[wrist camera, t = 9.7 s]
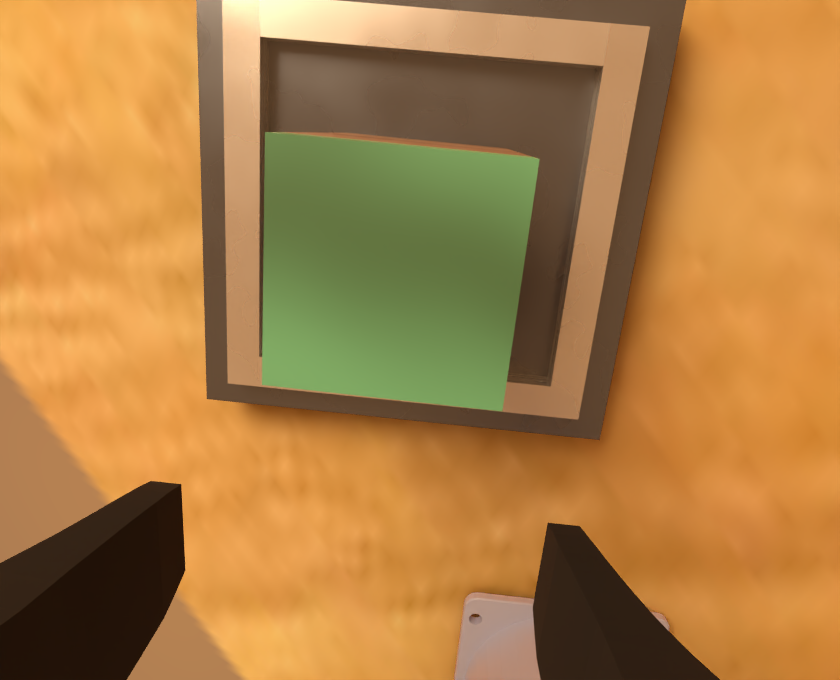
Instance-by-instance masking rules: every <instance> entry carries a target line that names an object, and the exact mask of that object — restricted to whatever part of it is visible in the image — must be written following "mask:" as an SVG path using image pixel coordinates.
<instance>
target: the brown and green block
mask: <svg viewBox="0 0 840 680" xmlns="http://www.w3.org/2000/svg"><path fill="white" fill-rule="evenodd" d="M539 160H540V159H538V158H535V157H532V156H529V155H526V154H522V153H519V152H516V151H513V150H510V149H507V148H499V147H489V146H479V145H469V144H459V143H448V142H438V141H428V140H418V139H408V138H397V137H387V136H377V135H367V134H357V133H326V132H265V176H264V257H263V337H262V385H267V386H276V387H285V388H294V389H303V390H312V391H321V392H330V393H339V394H348V395H358V396H367V397H376V398H385V399H394V400H403V401H412V402H421V403H430V404H439V405H448V406H457V407H466V408H475V409H484V410H494V411H502V410H503V404H504V397H505V390H506V383H507V376H508V370H509V363H510V356H511V349H512V343H513V336H514V329H515V322H516V316H517V309H518V302H519V295H520V288H521V282H522V275H523V268H524V261H525V255H526V248H527V241H528V234H529V228H530V221H531V214H532V207H533V201H534V194H535V187H536V180H537V173H538V167H539Z"/></svg>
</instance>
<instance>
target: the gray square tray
mask: <svg viewBox="0 0 840 680" xmlns="http://www.w3.org/2000/svg"><path fill="white" fill-rule="evenodd" d="M196 1H197V39H198V77H199V115H200V154H201V192H202V230H203V268H204V306H205V344H206V382H207V399H213V400H222V401H232V402H241V403H251V404H261V405H270V406H280V407H289V408H299V409H309V410H318V411H328V412H337V413H347V414H356V415H366V416H376V417H385V418H395V419H404V420H414V421H424V422H433V423H443V424H452V425H462V426H471V427H481V428H491V429H500V430H510V431H519V432H529V433H539V434H548V435H558V436H567V437H577V438H587V439H596V440H600V435H601V430H602V425H603V420H604V415H605V410H606V405H607V400H608V395H609V389H610V384H611V379H612V374H613V369H614V364H615V359H616V354H617V349H618V344H619V339H620V334H621V329H622V324H623V318H624V313H625V308H626V303H627V298H628V293H629V288H630V283H631V278H632V273H633V268H634V263H635V258H636V253H637V247H638V242H639V237H640V232H641V227H642V222H643V217H644V212H645V207H646V202H647V197H648V192H649V187H650V182H651V176H652V171H653V166H654V161H655V156H656V151H657V146H658V141H659V136H660V131H661V126H662V121H663V116H664V111H665V105H666V100H667V95H668V90H669V85H670V80H671V75H672V70H673V65H674V60H675V55H676V50H677V45H678V40H679V34H680V29H681V24H682V19H683V14H684V9H685V4H686V0H196ZM265 132H326V133H357V134H367V135H377V136H387V137H397V138H408V139H418V140H428V141H438V142H448V143H459V144H469V145H479V146H489V147H499V148H507V149H510V150H513V151H516V152H519V153H522V154H526V155H529V156H532V157H535V158H538V159H540V160H539V167H538V173H537V180H536V187H535V194H534V201H533V207H532V214H531V221H530V228H529V234H528V241H527V248H526V255H525V261H524V268H523V275H522V282H521V288H520V295H519V302H518V309H517V316H516V322H515V329H514V336H513V343H512V349H511V356H510V363H509V370H508V376H507V383H506V390H505V397H504V404H503V410H502V411H494V410H484V409H475V408H466V407H457V406H448V405H439V404H430V403H421V402H412V401H403V400H394V399H385V398H376V397H367V396H358V395H348V394H339V393H330V392H321V391H312V390H303V389H294V388H285V387H276V386H267V385H262V337H263V257H264V176H265Z"/></svg>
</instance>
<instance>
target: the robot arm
mask: <svg viewBox="0 0 840 680" xmlns="http://www.w3.org/2000/svg"><path fill="white" fill-rule="evenodd" d="M184 572H185V554H184V534H183V513H182V492H181V484H173V483H164V482H154V481H150V482H148V483H146V484H144V485H142V486H140V487H138V488H136V489H134V490H133V491H131V492H129V493H127V494H125V495H124V496H122V497H120V498H118V499H117V500H115V501H113V502H111V503H110V504H108V505H106V506H105V507H103V508H101V509H99V510H98V511H96V512H94V513H92V514H91V515H89V516H87V517H85V518H84V519H82V520H80V521H78V522H77V523H75V524H73V525H71V526H69V527H68V528H66V529H64V530H62V531H61V532H59V533H57V534H55V535H54V536H52V537H50V538H48V539H46V540H44V541H42V542H40V543H38V544H36V545H34V546H32V547H31V548H29V549H27V550H25V551H23V552H21V553H19V554H17V555H15V556H13V557H11V558H10V559H7V560H5V561H4V562H2V563H0V680H127V678H128V676H129V675H130V673H131V672H132V670H133V668H134V667H135V665H136V663H137V662H138V660H139V659H140V657H141V655H142V654H143V652H144V650H145V649H146V647H147V645H148V644H149V642H150V640H151V639H152V637H153V636H154V634H155V632H156V631H157V629H158V627H159V625H160V624H161V622H162V620H163V619H164V616H165V615H166V612H167V610H168V608H169V606H170V604H171V602H172V599H173V597H174V595H175V593H176V591H177V588H178V586H179V584H180V581H181V579H182V577H183V574H184ZM472 614H478V615H480V616H479V617H472V616H471V615H472ZM454 680H720V679H719V678H718V677H716V676H715V675H714V674H713V673H712V672H711V671H710V670H709V669H708V668H706V667H705V666H704V665H703V664H702V663H701V662H700V661H699V660H698V659H696V658H695V657H694V656H693V655H692V654H691V653H690V652H689V651H688V650H687V649H686V648H685V647H684V646H683V645H682V644H681V643H680V642H679V641H678V640H677V639H676V638H675V637H674V636H673V635H672V634H671V633H670V632H669V624H668V621H667V619H666V617H665V616H664V615H662V614H660V613H657V612H650V611H649V610H648V609H647V607H646V606H645V605H644V604H643V603H642V602H641V601H640V600H639V598H638V597H637V596H636V595H635V594H634V593H633V592H632V590H631V589H630V588H629V587H628V586H627V585H626V583H625V582H624V581H623V580H622V579H621V577H620V576H619V575H618V574H617V572H616V571H615V570H614V569H613V567H612V566H611V565H610V564H609V563H608V561H607V560H606V559H605V558H604V556H603V555H602V554H601V552H600V551H599V550H598V549H597V547H596V546H595V545H594V544H593V542H592V541H591V540H590V539H589V537H588V536H587V535H586V534H585V532H584V531H583V530H582V529H581V527H580V526H573V525H563V524H554V523H548V525H547V531H546V536H545V542H544V547H543V553H542V559H541V564H540V570H539V575H538V581H537V586H536V592H535V598H534V599H532V598H524V597H515V596H506V595H497V594H488V593H479V592H476V593H471V594H469V595H468V596H467V597H466V598H465V600H464V606H463V614H462V622H461V629H460V637H459V644H458V652H457V659H456V667H455V675H454Z"/></svg>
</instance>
